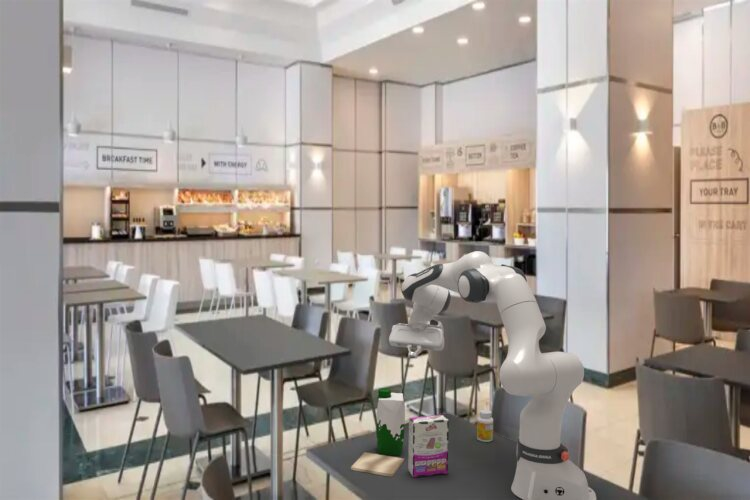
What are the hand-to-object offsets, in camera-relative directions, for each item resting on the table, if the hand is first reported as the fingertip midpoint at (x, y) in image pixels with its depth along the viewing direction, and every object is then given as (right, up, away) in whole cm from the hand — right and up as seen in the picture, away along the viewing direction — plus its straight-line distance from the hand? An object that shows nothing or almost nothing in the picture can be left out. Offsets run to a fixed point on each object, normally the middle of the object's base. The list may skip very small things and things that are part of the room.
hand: (412, 357), depth 216 cm
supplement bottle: (+24, -27, -9) cm, 37 cm away
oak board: (-12, -27, -33) cm, 44 cm away
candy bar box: (+2, -28, -37) cm, 46 cm away
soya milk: (-9, -27, -21) cm, 35 cm away
